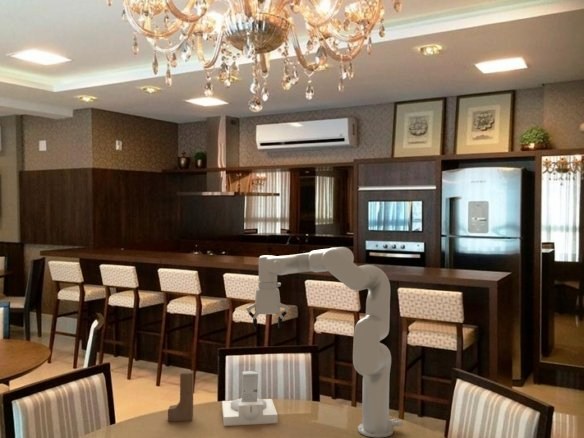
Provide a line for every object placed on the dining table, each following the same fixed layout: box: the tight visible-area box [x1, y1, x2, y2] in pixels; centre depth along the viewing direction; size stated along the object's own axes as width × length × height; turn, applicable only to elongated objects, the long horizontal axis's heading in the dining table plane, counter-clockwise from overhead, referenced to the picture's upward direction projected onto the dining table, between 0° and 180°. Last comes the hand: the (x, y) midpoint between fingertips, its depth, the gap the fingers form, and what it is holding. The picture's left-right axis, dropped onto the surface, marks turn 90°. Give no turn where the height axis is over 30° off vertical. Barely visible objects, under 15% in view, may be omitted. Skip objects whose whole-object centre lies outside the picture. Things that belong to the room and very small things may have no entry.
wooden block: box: [167, 370, 194, 422], centre depth 206 cm, size 9×4×18 cm, turn 93°
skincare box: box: [241, 370, 259, 402], centre depth 212 cm, size 6×4×12 cm
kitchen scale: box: [221, 397, 279, 427], centre depth 210 cm, size 20×18×8 cm
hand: (267, 328), depth 220 cm, fingers open, 9 cm apart
